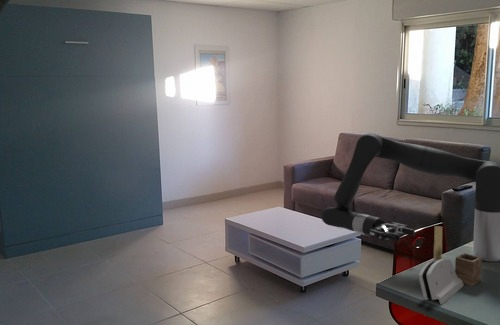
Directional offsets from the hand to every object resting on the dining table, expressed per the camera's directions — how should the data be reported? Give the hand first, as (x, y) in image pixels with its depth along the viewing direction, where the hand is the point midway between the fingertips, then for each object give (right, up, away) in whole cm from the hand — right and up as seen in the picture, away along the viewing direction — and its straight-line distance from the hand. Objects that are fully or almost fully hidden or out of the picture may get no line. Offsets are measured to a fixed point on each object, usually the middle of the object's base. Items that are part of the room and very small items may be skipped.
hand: (406, 235), depth 156 cm
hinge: (+2, -13, -21) cm, 25 cm away
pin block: (+14, -11, -15) cm, 23 cm away
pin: (+7, -10, -7) cm, 15 cm away
